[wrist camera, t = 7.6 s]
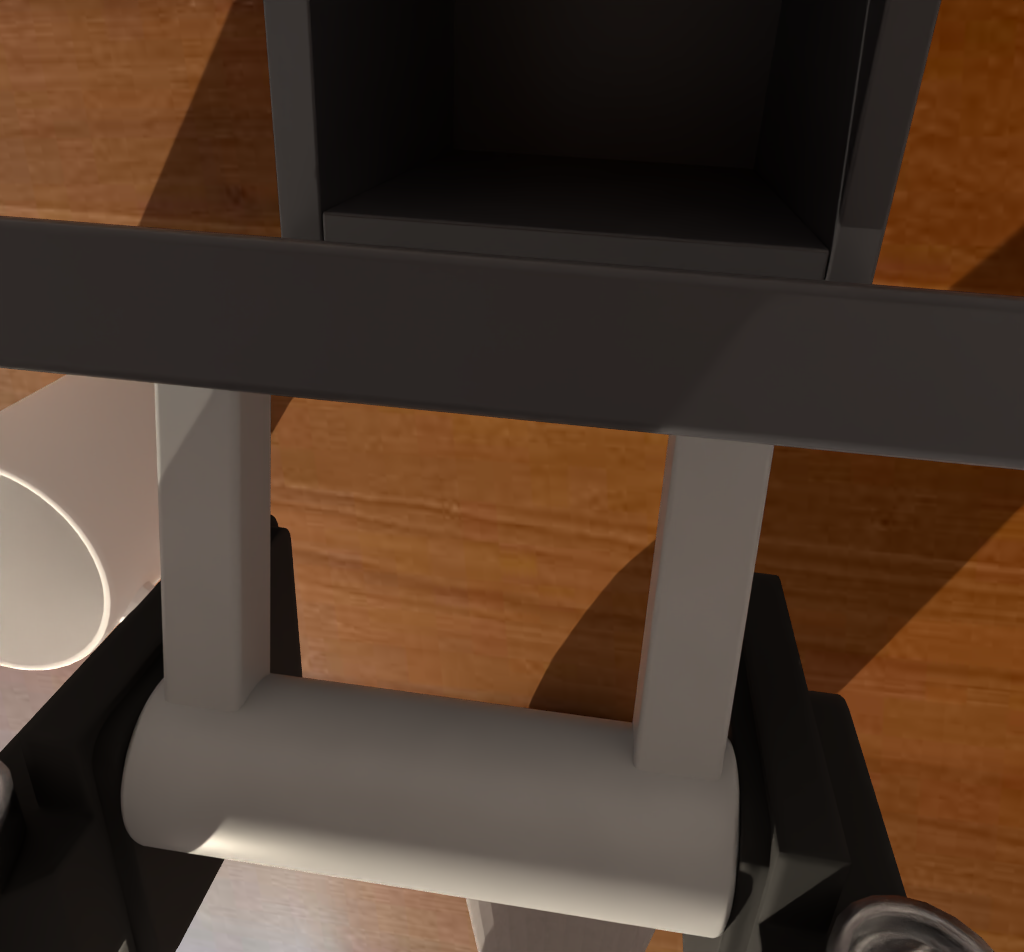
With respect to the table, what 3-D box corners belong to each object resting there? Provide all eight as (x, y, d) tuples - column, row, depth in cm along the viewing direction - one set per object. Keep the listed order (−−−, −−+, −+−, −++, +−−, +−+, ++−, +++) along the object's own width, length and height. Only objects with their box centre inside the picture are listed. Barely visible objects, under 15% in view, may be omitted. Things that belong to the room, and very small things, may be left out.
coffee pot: (602, 655, 38) (578, 976, 25) (735, 815, 41) (777, 1176, 28) (282, 815, 46) (134, 1122, 33) (414, 938, 49) (329, 1264, 36)
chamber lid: (-630, 167, 5) (-428, 950, 6) (1770, 358, 3) (1340, 1286, 5) (272, 236, 17) (272, 493, 18) (879, 284, 16) (828, 556, 17)
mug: (352, 473, 36) (251, 617, 27) (270, 598, 39) (157, 762, 30) (101, 311, 34) (-99, 404, 25) (40, 457, 38) (-155, 586, 28)
